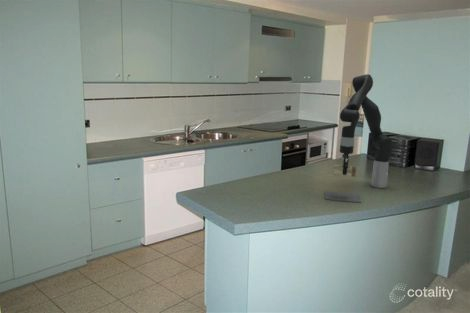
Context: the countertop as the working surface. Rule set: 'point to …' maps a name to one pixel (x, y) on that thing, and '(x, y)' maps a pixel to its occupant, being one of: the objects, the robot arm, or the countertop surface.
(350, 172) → the maple bar
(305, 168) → the countertop surface
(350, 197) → the mat
